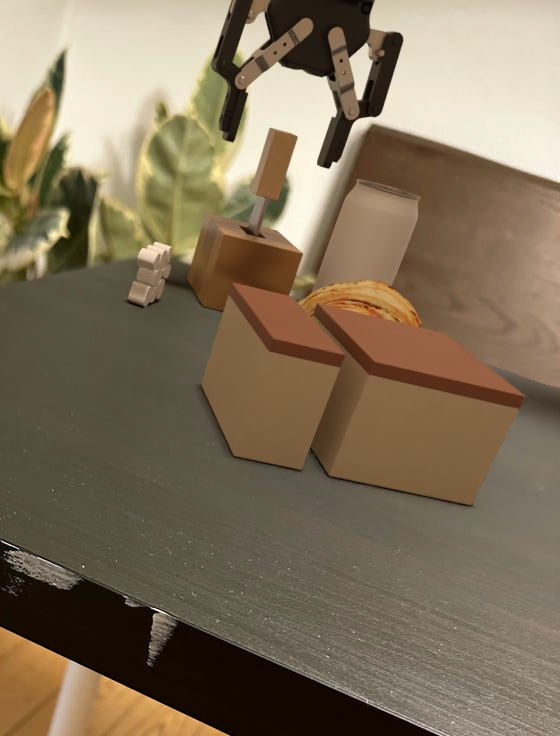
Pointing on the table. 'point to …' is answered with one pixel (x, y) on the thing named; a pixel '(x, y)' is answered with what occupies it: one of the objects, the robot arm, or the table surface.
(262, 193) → the knife
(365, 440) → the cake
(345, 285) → the croissant
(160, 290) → the marshmallow
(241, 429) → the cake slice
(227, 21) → the robot arm
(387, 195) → the can
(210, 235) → the knife block
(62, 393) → the table surface
